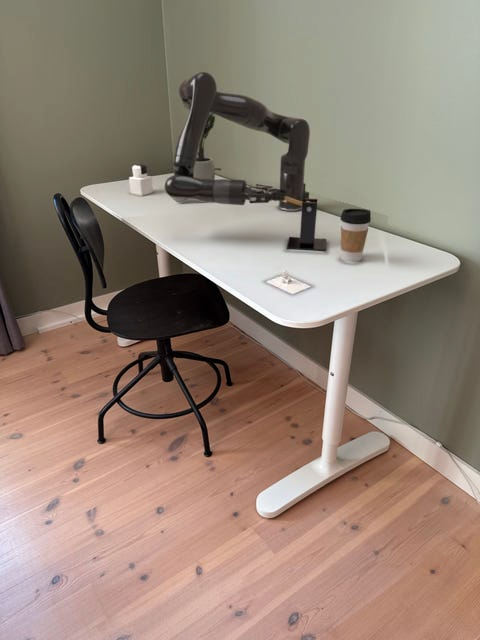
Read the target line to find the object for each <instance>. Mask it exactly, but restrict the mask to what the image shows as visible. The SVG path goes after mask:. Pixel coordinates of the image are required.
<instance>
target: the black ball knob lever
mask: <svg viewBox="0 0 480 640" xmlns="http://www.w3.org/2000/svg"><path fill="white" fill-rule="evenodd" d="M278 189H279V188H274V189H273V190H271V192H272V194H273V192H274V193H281V191H280V190H278ZM285 200H286V201H289V202H291V203H294V204H297V205H300V206H302V202H301V201H298V200H295V199H292V198H290V197H287V196H285ZM272 201H273V202H276V201H275V200H272ZM306 202H310V201H306Z"/></svg>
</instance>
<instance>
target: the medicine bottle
mask: <svg viewBox="0 0 480 640" xmlns="http://www.w3.org/2000/svg"><path fill="white" fill-rule="evenodd" d="M131 170H132V176H129V177H128V182H129V190H130V194H131V195H135V196H140V197H144V196H147V195H151V194H154V186H153V176H151V175H148V169H147V165H145V164H134V165H133V166H132V168H131Z"/></svg>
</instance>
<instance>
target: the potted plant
mask: <svg viewBox="0 0 480 640" xmlns="http://www.w3.org/2000/svg"><path fill="white" fill-rule="evenodd" d="M181 102H182V104H183V107H184V108H185V109H187V110H188V114H189V113H190V109H191V108H190V107H189V106H187V105H186V104H185V103H184V102H183V101H181ZM215 121H216V115H215V114H213V113H209V116H208V119H207V121H206V124H205V127H204V130H203V133H202V137H201V140H200V144H199V149H198V154H197V159H196V163H195V167H194V177H195V178H199V179H215V178H216V171H222V167H215V163H214V159H213V158H212V157H208V156H207V157H206V156H205V140H206V139H207V138H208V137H209V134H210V131H211V130H212V129H213V128H214V127H215V126H214V125H215ZM204 203H207V202H201V201H198V200H196V199H191V198H189V199H188V200H187V201H186V202H183V203H179V204H181V205H182V204H184V205H185V204H204Z"/></svg>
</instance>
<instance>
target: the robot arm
mask: <svg viewBox="0 0 480 640" xmlns="http://www.w3.org/2000/svg"><path fill="white" fill-rule="evenodd" d="M178 94H179V97H180V99H181V102H184V103H185V104H186V105H187V106H189V107H190V108H191V109H190V113H189V112H188V116H187V119H186V121H185V123H184V125H183V128H182V129H181V131H180V133H179V136H178V137H177V141H176V145H175V149H174V154H173V158H172V168H173V170H174V171H173V175H170V176H169V177H168V178H166V180H165V182H164V190H165V193H166V194H167V196H169V197H170V199H172V200H173V201H174V202H176V203H178V204H180V203H183V202H186V201H187V200H188V199H189V198H191V199H196V200H198V201H201V202H206V203H209V204H210V203H213V204H220V205H231V206H244V205H245V204H246V202H247V201H248V203H249V204H268V203H269V202H272V201H273V200H275V201H274V202H277V201H278V209H279V210H281V211H285V212H297V211H302V206H300V205H297V204H294V203H291V202H289V201H286V200H285V196H287V197H290V198H292V199H295V200H298V201H301V202H303V198H309V199H310V191H306V183H305V169H306V168H305V167H306V160H307V157H308V153H309V145H310V138H311V128H310V124H309V122H308V121H307V120H306V119H304V118H301V117H300V118H299V117H292V116H286V115H281V114H279V113H277V112H276V113H275V112H274V111H272V110H271V109H269V108H268V107H267V106H266V104H264V103H263V102H261V101H259V100H256V99H255V98H252V97H251V96H247V95H243V94H240V93H239V94H238V93H237V94H236V93H229V92H221V91H218V85H217V82H216V80H215V78H214V76H213V75H212V74H211V73H209V72H207V71H199V72H197V73H195V74H192V75H190V76H188V77H186V78H185V79H183V80H182V82H181V83H180V84H179V86H178ZM211 113H213V115H214V116H218V117H220V118H222V119H225V120H227V121H230V122H232V123H235V124H237V125H239V126H242V127H245V128H247V129H250V130H253V131H257V132H262V133H265V134H268V135H270V136H272V137H274V138H275V139H277V140H279V141H280V142H282V143H284V144H287V145H288V148H287V152H286V153H284V154H282V155H281V156H280V169H279V170H280V171H279V188H277V189H278V190H280V191H281V193H274V192H273V194H272V192H271V190H273V189H275V188H274V187H273V186H272V185H264V184H258V183H257V184H255V185H251V186H247V182H246V180H245V179H229V178H221V179H220V178H219V179H215V178H214V179H199V178H195V177H194V167H195V163H196V159H197V157H198V156H197V155H198V152H199V144H200V140H201V137H202V133H203V130H205V129H204V127H205V124H206V121H207V119H208V116H209V114H211Z"/></svg>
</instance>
